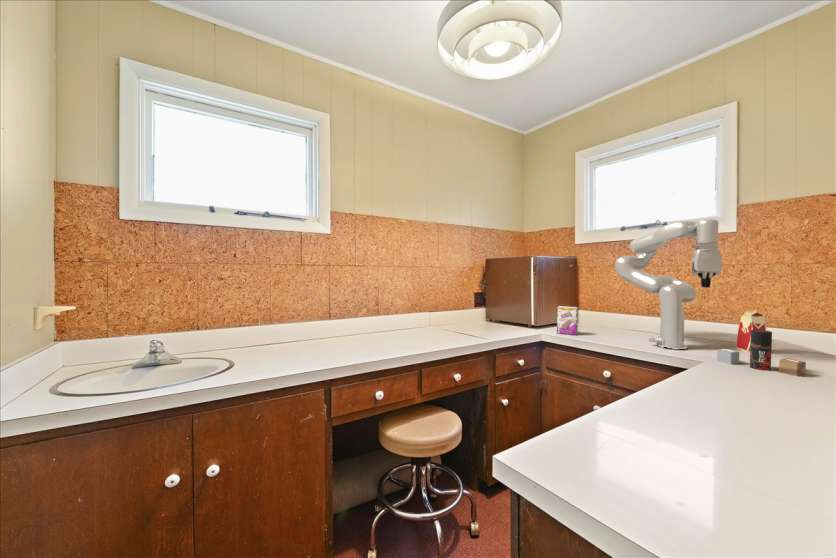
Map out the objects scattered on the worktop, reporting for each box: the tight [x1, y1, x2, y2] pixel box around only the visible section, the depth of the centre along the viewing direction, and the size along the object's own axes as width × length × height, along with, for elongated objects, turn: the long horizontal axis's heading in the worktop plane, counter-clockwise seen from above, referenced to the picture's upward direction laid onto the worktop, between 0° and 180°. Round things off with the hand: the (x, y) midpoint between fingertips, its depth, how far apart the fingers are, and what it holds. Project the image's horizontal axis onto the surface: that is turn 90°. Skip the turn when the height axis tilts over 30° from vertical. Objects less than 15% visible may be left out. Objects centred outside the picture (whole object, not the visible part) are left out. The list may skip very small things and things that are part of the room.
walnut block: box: [778, 357, 807, 377], centre depth 128 cm, size 5×5×5 cm
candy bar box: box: [556, 305, 579, 336], centre depth 203 cm, size 11×5×16 cm, turn 58°
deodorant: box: [749, 329, 773, 372], centre depth 135 cm, size 6×6×15 cm
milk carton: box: [735, 309, 768, 353], centre depth 161 cm, size 9×9×20 cm
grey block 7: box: [716, 348, 740, 365], centre depth 143 cm, size 5×5×5 cm
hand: (705, 287), depth 154 cm, fingers closed
